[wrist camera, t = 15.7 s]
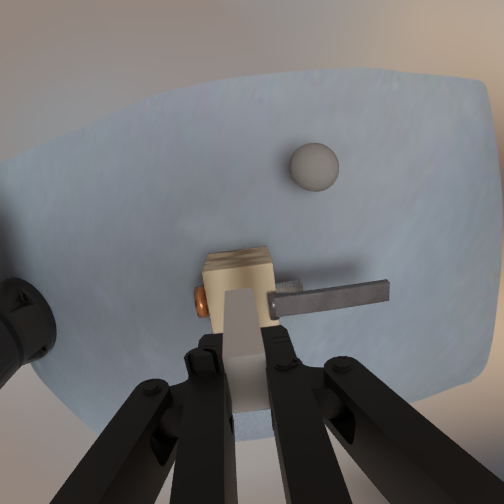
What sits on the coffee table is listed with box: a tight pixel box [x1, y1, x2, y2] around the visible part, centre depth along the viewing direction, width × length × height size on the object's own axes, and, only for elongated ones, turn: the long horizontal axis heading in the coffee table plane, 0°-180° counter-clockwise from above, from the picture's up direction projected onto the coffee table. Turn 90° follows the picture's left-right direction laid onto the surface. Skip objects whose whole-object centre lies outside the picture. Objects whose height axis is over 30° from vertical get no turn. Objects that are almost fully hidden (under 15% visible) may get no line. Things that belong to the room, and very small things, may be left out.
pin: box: [194, 280, 303, 318], centre depth 40 cm, size 13×4×4 cm, turn 97°
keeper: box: [267, 279, 390, 321], centre depth 36 cm, size 14×3×1 cm, turn 97°
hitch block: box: [202, 246, 279, 334], centre depth 41 cm, size 8×10×8 cm
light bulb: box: [290, 143, 339, 191], centre depth 36 cm, size 6×6×10 cm
